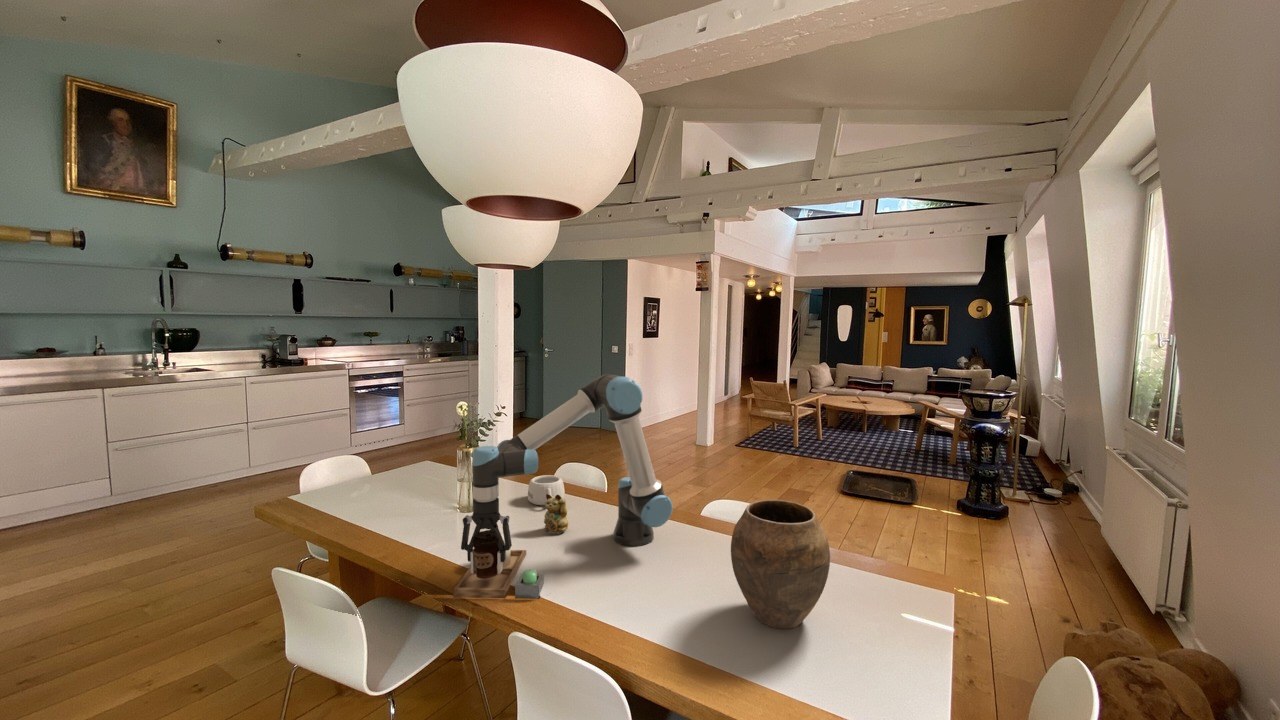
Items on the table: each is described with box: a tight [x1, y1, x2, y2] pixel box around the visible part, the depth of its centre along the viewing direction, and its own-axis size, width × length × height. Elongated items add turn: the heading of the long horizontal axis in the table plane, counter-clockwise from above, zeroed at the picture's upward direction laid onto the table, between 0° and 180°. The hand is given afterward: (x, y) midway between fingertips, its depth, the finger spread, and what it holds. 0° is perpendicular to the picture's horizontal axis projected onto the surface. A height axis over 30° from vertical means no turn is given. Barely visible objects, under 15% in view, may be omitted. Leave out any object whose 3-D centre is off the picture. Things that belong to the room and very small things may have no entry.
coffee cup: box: [473, 529, 499, 579], centre depth 158 cm, size 9×8×13 cm
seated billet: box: [497, 531, 512, 568], centre depth 171 cm, size 8×8×9 cm
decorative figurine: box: [543, 494, 569, 535], centre depth 201 cm, size 10×8×15 cm
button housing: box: [514, 573, 545, 600], centre depth 155 cm, size 7×7×4 cm
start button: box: [522, 569, 538, 583], centre depth 154 cm, size 4×4×5 cm
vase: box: [730, 499, 831, 630], centre depth 142 cm, size 26×26×30 cm
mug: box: [527, 474, 566, 507], centre depth 233 cm, size 21×17×10 cm
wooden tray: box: [453, 549, 527, 599], centre depth 165 cm, size 15×27×2 cm, turn 179°
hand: (486, 571), depth 158 cm, fingers closed on coffee cup, 7 cm apart
